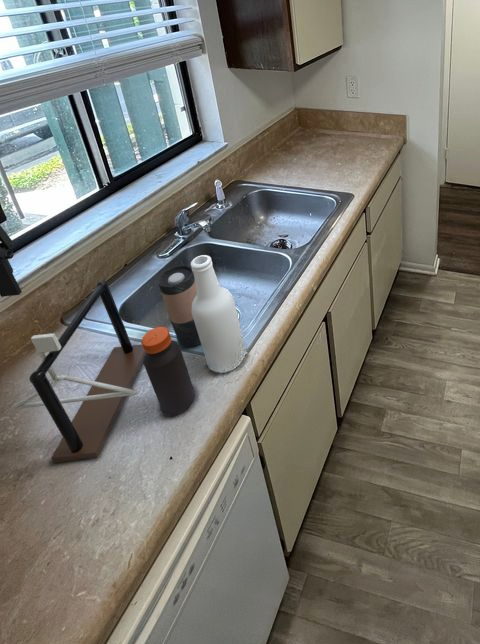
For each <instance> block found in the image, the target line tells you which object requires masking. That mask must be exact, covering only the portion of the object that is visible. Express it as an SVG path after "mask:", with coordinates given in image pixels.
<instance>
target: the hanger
mask: <svg viewBox="0 0 480 644" xmlns="http://www.w3.org/2000/svg"><path fill="white" fill-rule="evenodd" d="M58 340H59V338H58V337H57V335H56V333H55V332H54V333H44V334H35V335H32V336H31V338H30V341H31V342H32V344H33V346H34V348H35V350H36V351H37V354H38V355H39V357H40V359H41V361H42V362H43V360H44V359H45V358H46V356H47V354H46V353H49V352H51V351H59V350H60V349H61V345H60V343H59V341H58ZM47 373H48V374H49V376H50V378H51V379H52V381H51V382H50V384H51V386H52V388H53V387H55V386H57V385H58V384H60V383H62V382H64V381H67V382H72V383H76V384H81V385H86V386H89V387H92V386H95V387H100V388H105V389H109V390H114V391H119V392H117V393H108V394H100V395H91V396H87V395H84V396H76V397H66V398H58V399H59V400H60V402H61V404H62V405H63V404H70V403H79V402H83V401H87V400H95V399H104V398H112V397H120V396H135V395H137V394H138V390H136V389H132V388H130V389H128V388H123V387H118V386H114V385H109V384H104V383H100V382H95V380H94V381H93V380H90V379H87V378H80V377H76V376H72V375H68V374H67V375H66V374H61V375H57V373H56V371H55V369H54V367H53V364H52V365H51V367H50V368H49V370H48V371H47ZM38 396H39V395H38V393H37V391H35V392H33V393H31V394H30V395H28V396H27V397H25V398H23V399H22V400H20V401H18V402H16V403H14V404H13V405H12V407H11V408H12V410H19V409H20V410H21V409H28V408H36V407H45V405H44V403H43V402H42V400H41V401H34V402H29V401H31V400H33V399H34V398H37V397H38Z"/></svg>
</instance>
